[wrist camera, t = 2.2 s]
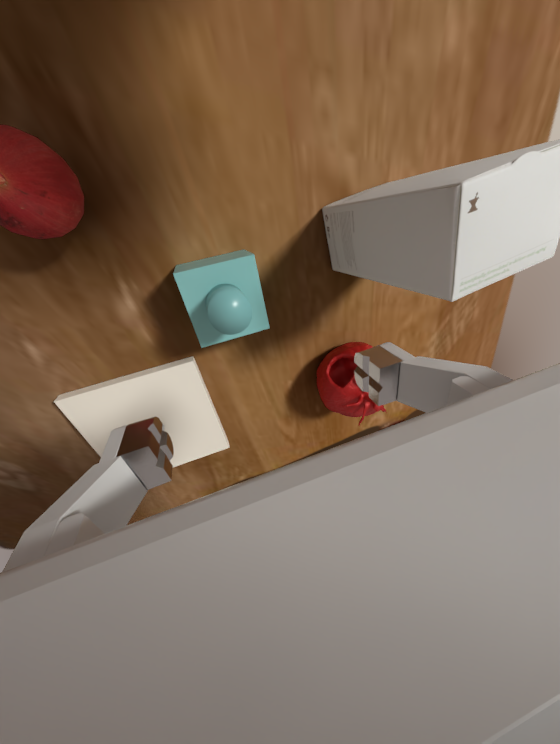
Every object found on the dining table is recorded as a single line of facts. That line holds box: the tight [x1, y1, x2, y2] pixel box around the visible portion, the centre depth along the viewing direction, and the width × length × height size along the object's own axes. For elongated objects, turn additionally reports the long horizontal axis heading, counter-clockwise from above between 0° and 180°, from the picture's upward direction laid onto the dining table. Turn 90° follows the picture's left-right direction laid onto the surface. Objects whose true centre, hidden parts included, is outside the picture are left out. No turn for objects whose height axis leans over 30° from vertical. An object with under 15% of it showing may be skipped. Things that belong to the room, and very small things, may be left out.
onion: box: [0, 125, 84, 239], centre depth 16 cm, size 6×6×8 cm
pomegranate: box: [316, 342, 387, 425], centre depth 32 cm, size 10×10×9 cm
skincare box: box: [322, 139, 560, 302], centre depth 21 cm, size 8×7×16 cm
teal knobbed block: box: [173, 250, 270, 348], centre depth 23 cm, size 7×7×8 cm
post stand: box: [54, 356, 230, 468], centre depth 30 cm, size 14×14×5 cm
